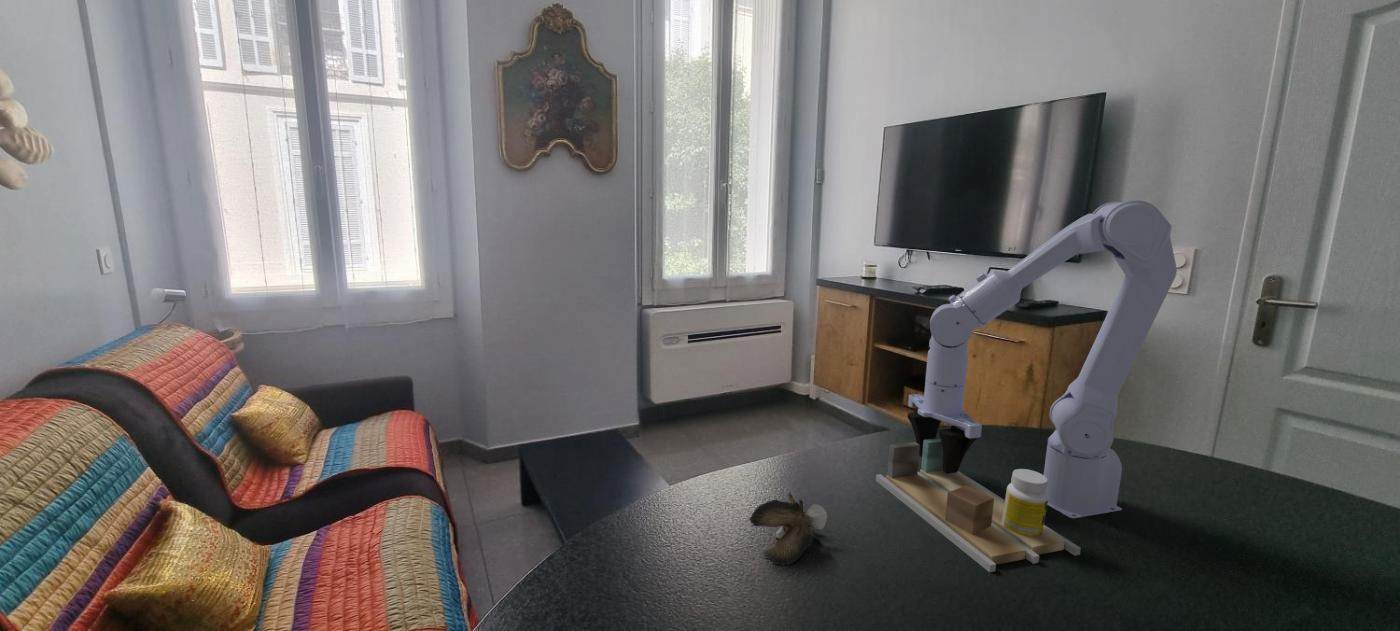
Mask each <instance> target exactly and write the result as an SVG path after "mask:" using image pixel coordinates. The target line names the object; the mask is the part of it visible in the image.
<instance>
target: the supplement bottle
mask: <svg viewBox="0 0 1400 631" xmlns="http://www.w3.org/2000/svg"><path fill="white" fill-rule="evenodd" d="M1010 480H1011V481H1010V482H1009V484H1008V485H1007V487H1006V490H1005V491H1006V493H1005V497H1004V500H1005V503H1004V509H1003V515H1002V524H1003V525H1004V527H1006V528H1007V529H1008V530H1010V531H1012V532H1014V533H1017V534H1020V535H1024V536H1038V535H1041V534H1042V532H1043V526H1044V525H1045V520H1046V514H1047V509H1048V504H1047V503H1048V495H1047V493H1046V489H1047V483H1048V480H1047V478H1046V477H1045V476H1044V474H1042V473H1040V472H1039V471H1035V470H1032V469H1028V468H1027V469H1026V468H1017V469H1014V470H1013V471H1012V475H1011V478H1010Z"/></svg>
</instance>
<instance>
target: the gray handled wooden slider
mask: <svg viewBox="0 0 1400 631" xmlns="http://www.w3.org/2000/svg"><path fill="white" fill-rule="evenodd" d="M919 450H920V445H919V444H918V443H917V442H916V441H912V442H911V441H910V442H903V443H895V444H889V446H888V458H887V471H886V472H887V474H886V475H885V478H886V479H887V480H889V481H890V482H891V483H893V484H894V485H895V486H896V487H898V488H899V489H900V490H902V491H903V492H904V493H905V494H907V495H908V496H909V497H911V498H912V499H913V500H914V501H916V502H917V503H918V504H920V505H921V506H922V507H923V508H925V509H926V510H927V511H929V512H930V513H931V514H932V515H934V516H935V517H936V518H938V519H939V520H940V521H941V522H943V523H944V524H945V525H946V526H948V527H949V528H950V529H952V530H953V531H954V532H955V533H957V534H958V535H959V536H961V537H962V538H963V539H964V540H966V541H967V542H968V543H970V544H971V545H972V546H973V547H975V548H976V549H977V550H979V551H980V552H981V553H982V554H984V555H985V556H986V557H988V558H989V559H990V560H991V561H993V562H994V563H995V564H996V565H1001V564H1007V563H1011V562H1012V563H1013V562H1016V561H1021V560H1026V558H1025V552H1026V550H1025V549H1023V548H1022V547H1020V546H1019V545H1018V544H1016V543H1015V542H1013V541H1012V540H1010V539H1009V538H1008V537H1006V536H1005V535H1003V534H1002V533H1001V532H999V531H998V530H996V529H995V528H993V527H992V526H990V527H988V528H986V529H984V530H981V531H979V532H977V533H975V534H973V535H972V534H970V533H968V532H966V531H965V530H963V529H961V528H959V527H957V526H955V525H953V524H951V523H950V522H948V521H946V520H945V516H946V505H947V495H946V494H945V493H944V492H942V491H941V490H939V489H938V488H937V487H935V486H934V485H932V484H931V483H929V482H928V481H927V480H925V479H924V478H922V477H921V476H919V475H918V474H917V473H918V472H919V471H918V470H919V460H920V456H919Z"/></svg>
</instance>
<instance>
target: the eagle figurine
mask: <svg viewBox="0 0 1400 631" xmlns="http://www.w3.org/2000/svg"><path fill="white" fill-rule="evenodd" d="M787 495H788V500H789V501H790V502H788V501H782V500H780V501H779V500H778V499H772V500H769V501H766V502H765V503H762V504H761V505H758V506H757V507H756V508H755V509H754V511H753V512H752V513H751V516H750V517H749V519H748V520H749V521H750V523H751V524H752V527H766V528H768V527H769V528H776V527H780V528H779V529H778V530H777V531H776V532H775V536H774V539H778V540H776V542H775V543H774V544H772V545H771V546H769V547H768V548H767V549H765V550H764V551H763V554H764V555H763V558H764V557H767V559H766V558H765V561H766V560H770V562H773V563H775V564H779V565H782V566H785V565H791V564H793V563H794V562H797V560H799V559H800V558H801V557H800V556H802V555H803V554H804V551H806V550H807V548H809V547H810V546H812V543H813V540H814V538H813V535H812V531H811V528H812V529H816V530H823V529H824V527H825V526H826V524H827V521H828V513H827V511H826V509H825V508H824V507H823V506H821V505H819V504H816V503H814V504H811V506H809V508H808V509H807V510H806V511H805V512H804V502H803V501H804V500H802V499H798V502H797V501H796V500H795V499H794V497H793V495H792V493H791V492H788V493H787ZM775 564H774V565H775Z"/></svg>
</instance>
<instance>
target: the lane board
mask: <svg viewBox="0 0 1400 631" xmlns="http://www.w3.org/2000/svg"><path fill="white" fill-rule="evenodd" d="M957 473H958V474H960V475H961V476H963V477H964V478H966V479H968V480H969V481H971V482H972V483H974V484H975V485H977V486H979V487H980V488H982V489H983V490H985V491H987V492H988V493H990V494H991V495H993V496H994V497H996V498H998V499H999V500H1001V501H1002V502H1004V503H1005V498H1002V497H1001V496H999V495H998V494H996V493H994V492H993V491H991V490H990V489H988V488H986V487H985V486H983V485H982V484H980V483H978V482H977V481H975V480H974V479H972V478H970V477H968V476H967V475H966V474H964V473H962V472H961V471H959V470H958V472H957ZM917 474H918V475H919V476H921V477H922V478H924V479H925V480H927V481H928V482H929V483H931V484H932V485H934V486H935V487H937V488H938V489H939V490H941V491H942V492H944V493H945V494H946V495H948V492H947V491H946V490H944V489H943V488H941V487H940V486H938V485H937V484H935V483H934V482H933V481H931V480H930V479H928V478H927V477H925V476H924V475H922V474H921V473H920V471H918V473H917ZM875 482H877V483H878V484H880V485H881V486H882V487H883V488H885V489H886V490H887V491H888V492H889V493H891V495H893V496H894V497H896V498H897V499H898V500H900V502H902V503H903V504H904V505H906V506H907V507H908V508H909V509H911V510H912V511H913V512H914V513H915V514H917V515H918V516H919V517H920V518H922V519H923V520H924V521H925V522H926V523H928V524H929V525H930V526H931V527H933V528H934V529H935V530H937V532H939V533H940V534H942V535H943V536H944V537H945V538H946V539H948V540H949V541H950V542H951V543H953V545H955V546H956V547H958V548H959V549H960V550H961V551H962V552H963V553H965V554H966V555H967V556H968V557H970V558H971V559H973V561H975V562H977V564H979V565H980V566H982V568H983V569H985V570H986V571H987V572H988V573H994V572H996V569H997V568H996V567H997V564H995V563H994V562H993V561H991V560H990V559H989V558H988V557H986V556H985V555H984V554H982V553H981V552H980V551H979V550H977V549H976V548H975V547H973V546H972V545H971V544H970V543H968V542H967V541H966V540H964V539H963V538H962V537H961V536H959V535H958V534H957V533H955V532H954V531H953V530H952V529H950V528H949V527H948V526H946V525H945V524H944V523H943V522H941V521H940V520H939V519H938V518H936V517H935V516H934V515H932V514H931V513H930V512H929V511H927V510H926V509H925V508H923V507H922V506H921V505H920V504H918V503H917V502H916V501H914V500H913V499H912V498H911V497H909V496H908V495H907V494H905V493H904V492H903V491H902V490H900V489H899V488H898V487H896V486H895V485H894V484H893V483H891V482H890V481H889V480H887V479H886V476H884V475H882V474H881V473H879V474H876V475H875ZM991 526H992V527H993V528H995V529H996V530H998V531H999V532H1001V533H1002V534H1003V535H1005V536H1006V537H1008V538H1009V539H1010V540H1012V541H1013V542H1015V543H1016V544H1018V545H1019V546H1020V547H1022V548H1023V549H1025V550H1026V552H1025V560H1027V561H1028V562H1030V563H1032V565H1034V564H1038V563H1039V561H1040V554H1039V555H1038V554H1036V553H1035V552H1033V551H1032V550H1030V549H1029V548H1028V547H1026V546H1025V545H1023V544H1022V543H1020V542H1019V541H1017V540H1016V539H1015V538H1013V537H1012V536H1010V535H1009V534H1007V533H1006V532H1005V531H1003V530H1002V529H1000V528H999V527H997V526H996V525H994V524H993V523H991ZM1043 528H1045V529H1046V530H1048V531H1050V532H1051V533H1053V534H1054V535H1056V536H1058V537H1059V538H1061V539H1062V540H1064V541H1065V544H1064V550H1065V551H1067V552H1068V553H1070V554H1071V555H1073V556H1074V557H1075V556H1080V555H1081V547H1080V546H1079V545H1077V544H1075V543H1073V542H1072V541H1071V540H1069V539H1068V538H1066V537H1064V536H1063V535H1061V534H1059V533H1058V532H1056V531H1054V530H1053V529H1051V528H1050V527H1048V526H1047V525H1045V524H1044V526H1043Z"/></svg>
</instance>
